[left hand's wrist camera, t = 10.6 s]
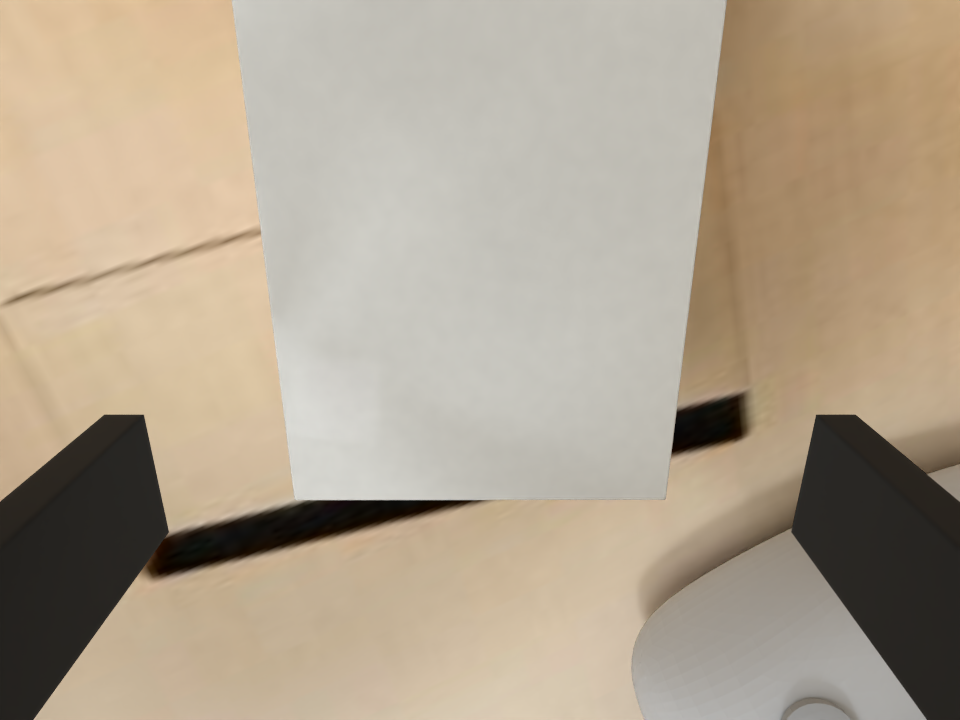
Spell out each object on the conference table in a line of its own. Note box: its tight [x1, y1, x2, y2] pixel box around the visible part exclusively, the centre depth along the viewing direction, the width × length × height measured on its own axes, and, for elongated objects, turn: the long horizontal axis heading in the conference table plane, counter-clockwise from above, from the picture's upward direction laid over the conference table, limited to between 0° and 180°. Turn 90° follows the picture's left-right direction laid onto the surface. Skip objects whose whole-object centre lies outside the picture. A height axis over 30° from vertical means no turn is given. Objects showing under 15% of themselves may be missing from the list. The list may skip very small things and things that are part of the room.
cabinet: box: [232, 0, 727, 500], centre depth 22 cm, size 17×11×11 cm, turn 0°
